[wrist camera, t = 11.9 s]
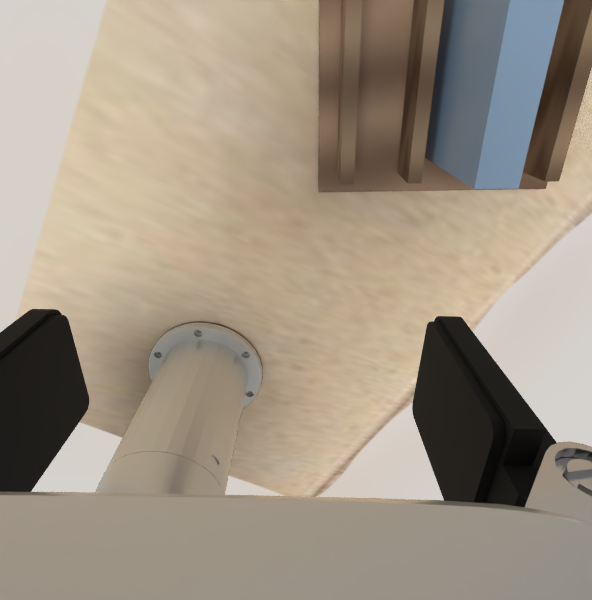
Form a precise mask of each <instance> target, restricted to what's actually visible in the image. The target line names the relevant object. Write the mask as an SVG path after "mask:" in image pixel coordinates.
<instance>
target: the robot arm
mask: <svg viewBox="0 0 592 600" xmlns="http://www.w3.org/2000/svg"><path fill="white" fill-rule="evenodd" d="M148 370H149V374H150V378H151V381H152V383H151V385H150V387H149V389H148V391H147V393H146V395H145V397H144V399H143V400H142V402H141V404H140V406H139V408H138V410H137V412H136V414H135V416H134V418H133V420H132V421H131V423H130V425H129V427H128V429H127V431H126V433H125V435H124V437H123V439H122V441H121V442H120V445H119V446H118V448H117V450H116V452H115V454H114V456H113V458H112V460H111V462H110V463H109V466H108V468H107V470H106V472H105V473H104V475H103V477H102V479H101V481H100V483H99V485H98V487H97V490H96V492H95V493H74V492H31V491H32V489H33V488H34V486H35V485H36V483H37V482H38V480H39V479H40V477H41V476H42V475H43V473H44V472H45V470H46V469H47V468H48V466H49V464H50V463H51V462H52V460H53V459H54V457H55V456H56V455H57V453H58V452H59V450H60V449H61V447H62V446H63V444H64V443H65V441H66V440H67V439H68V437H69V436H70V434H71V433H72V432H73V430H74V429H75V427H76V426H77V424H78V423H79V421H80V420H81V419H82V417H83V416H84V414H85V413H86V411H87V409H88V406H89V396H88V392H87V388H86V385H85V381H84V377H83V373H82V370H81V366H80V362H79V358H78V355H77V351H76V347H75V344H74V340H73V336H72V332H71V329H70V325H69V321H68V319H67V317H66V316H64V315H62V314H61V313H60V312H59V311H58V310H53V309H32V310H30V311H28V312H27V313H25V314H24V315H23V316H22V317H20V318H19V319H18V320H16V321H15V322H14V323H12V324H11V325H10V326H8V327H7V328H6V329H4V330H3V331H2V332H1V333H0V600H592V447H590V446H587V445H584V444H580V443H574V442H559V443H556V441H555V440H554V439H553V437H552V436H551V435H550V433H549V432H548V431H547V429H546V428H545V427H544V425H543V424H542V423H541V421H540V420H539V419H538V417H537V416H536V415H535V413H534V412H533V411H532V409H531V408H530V407H529V406H528V404H527V403H526V402H525V401H524V399H523V398H522V396H521V395H520V394H519V392H518V391H517V390H516V388H515V387H514V386H513V385H512V383H511V382H510V381H509V379H508V378H507V377H506V375H505V374H504V373H503V371H502V370H501V369H500V367H499V366H498V365H497V364H496V362H495V361H494V360H493V358H492V357H491V356H490V354H489V353H488V352H487V350H486V349H485V348H484V346H483V345H482V344H481V342H480V341H479V340H478V339H477V337H476V336H475V335H474V333H473V332H472V331H471V329H470V328H469V327H468V325H467V324H466V323H465V321H464V320H463V319H462V318H461V317H446V316H437V317H436V319H435V321H434V322H429V323H428V325H427V329H426V334H425V340H424V345H423V350H422V356H421V361H420V367H419V372H418V378H417V383H416V388H415V394H414V399H413V415H414V419H415V422H416V425H417V427H418V430H419V433H420V436H421V438H422V441H423V444H424V446H425V449H426V452H427V454H428V457H429V460H430V463H431V465H432V468H433V471H434V474H435V476H436V479H437V482H438V485H439V487H440V490H441V493H442V496H443V498H444V501H440V500H405V499H380V498H378V499H377V498H338V497H337V498H336V497H296V496H253V495H225V490H226V485H227V480H228V475H229V470H230V466H231V461H232V456H233V451H234V446H235V441H236V436H237V431H238V426H239V421H240V416H241V411H242V409H243V408H244V407H246V406H247V405H249V404H250V403H251V402H252V401H253V399H254V398H255V397H256V395H257V393H258V392H259V389H260V386H261V382H262V365H261V362H260V358H259V356H258V354H257V353H256V351H255V349H254V348H253V347H252V346H251V344H250V343H249V342H248V341H247V340H245V339H244V338H243V337H242V336H240V335H239V334H237V333H236V332H234V331H232V330H230V329H228V328H225V327H222V326H220V325H215V324H210V323H189V324H184V325H181V326H178V327H175V328H173V329H171V330H169V331H168V332H166V333H165V334H164V335H163V336H162V337H161V338H160V339H159V340H158V341H157V343H156V344H155V346H154V348H153V349H152V351H151V353H150V357H149V361H148Z"/></svg>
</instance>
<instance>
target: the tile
mask: <svg viewBox="0 0 592 600" xmlns="http://www.w3.org/2000/svg"><path fill="white" fill-rule="evenodd" d="M563 3H564V0H444V7H443V15H442V23H441V31H440V39H439V47H438V55H437V63H436V71H435V79H434V87H433V95H432V103H431V111H430V119H429V127H428V134H427V142H426V150H425V158H426V159H428V160H429V161H431V162H432V163H434V164H435V165H437V166H439V167H440V168H442V169H443V170H445V171H446V172H448V173H449V174H451V175H453V176H454V177H456V178H457V179H459V180H460V181H462V182H463V183H465V184H467V185H468V186H470V187H471V188H473V189H519V185H520V181H521V177H522V173H523V169H524V165H525V160H526V156H527V152H528V148H529V144H530V140H531V136H532V131H533V127H534V123H535V119H536V115H537V111H538V107H539V103H540V98H541V94H542V90H543V86H544V82H545V78H546V74H547V69H548V65H549V61H550V57H551V53H552V49H553V45H554V41H555V36H556V32H557V28H558V24H559V20H560V16H561V12H562V7H563Z"/></svg>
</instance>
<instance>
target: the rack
mask: <svg viewBox="0 0 592 600" xmlns="http://www.w3.org/2000/svg"><path fill="white" fill-rule="evenodd" d="M443 7H444V0H320V16H319V192H372V191H437V190H502V189H473V188H471V187H470V186H468V185H467V184H465V183H463V182H462V181H460V180H459V179H457V178H456V177H454V176H453V175H451V174H449V173H448V172H446V171H445V170H443V169H442V168H440V167H439V166H437V165H435V164H434V163H432V162H431V161H429V160H428V159H426V158H425V150H426V142H427V134H428V127H429V119H430V111H431V103H432V95H433V87H434V79H435V71H436V63H437V55H438V47H439V39H440V31H441V23H442V15H443ZM591 67H592V0H564V3H563V7H562V12H561V16H560V20H559V24H558V28H557V32H556V36H555V41H554V45H553V49H552V53H551V57H550V61H549V65H548V69H547V74H546V78H545V82H544V86H543V90H542V94H541V98H540V103H539V107H538V111H537V115H536V119H535V123H534V127H533V131H532V136H531V140H530V144H529V148H528V152H527V156H526V160H525V165H524V169H523V173H522V177H521V181H520V185H519V189H546V185H547V182H548V181H559V179H560V175H561V172H562V168H563V165H564V161H565V158H566V154H567V151H568V147H569V144H570V140H571V137H572V133H573V130H574V126H575V123H576V119H577V116H578V112H579V109H580V106H581V102H582V99H583V95H584V92H585V88H586V85H587V81H588V78H589V74H590V71H591Z"/></svg>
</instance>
